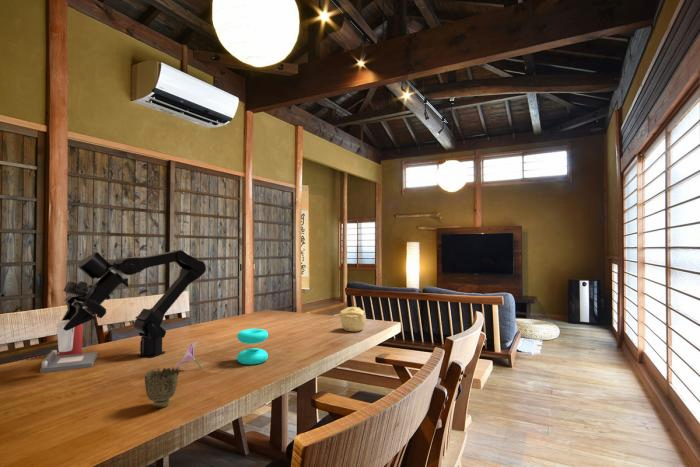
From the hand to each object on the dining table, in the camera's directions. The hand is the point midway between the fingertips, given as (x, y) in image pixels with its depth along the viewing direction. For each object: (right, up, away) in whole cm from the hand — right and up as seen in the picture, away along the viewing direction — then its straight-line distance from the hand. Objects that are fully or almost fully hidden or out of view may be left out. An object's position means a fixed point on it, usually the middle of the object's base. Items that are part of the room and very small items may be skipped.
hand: (61, 328), depth 117 cm
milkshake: (+1, -7, +1) cm, 7 cm away
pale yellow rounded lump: (+87, -16, +63) cm, 109 cm away
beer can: (-12, -14, +21) cm, 28 cm away
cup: (+41, -13, -24) cm, 49 cm away
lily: (+36, -14, +4) cm, 39 cm away
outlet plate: (-4, -14, +10) cm, 18 cm away
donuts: (+54, -14, +13) cm, 57 cm away
